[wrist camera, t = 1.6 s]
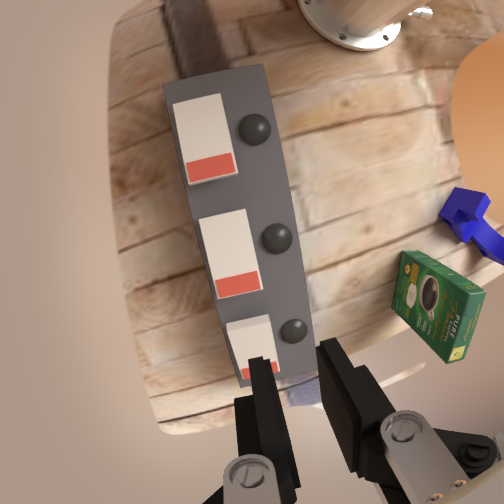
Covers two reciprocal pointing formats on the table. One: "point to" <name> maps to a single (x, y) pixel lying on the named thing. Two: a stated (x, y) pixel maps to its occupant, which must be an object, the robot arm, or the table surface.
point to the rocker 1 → (205, 139)
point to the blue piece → (473, 222)
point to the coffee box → (437, 304)
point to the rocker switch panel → (254, 213)
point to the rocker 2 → (231, 253)
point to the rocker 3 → (252, 342)
